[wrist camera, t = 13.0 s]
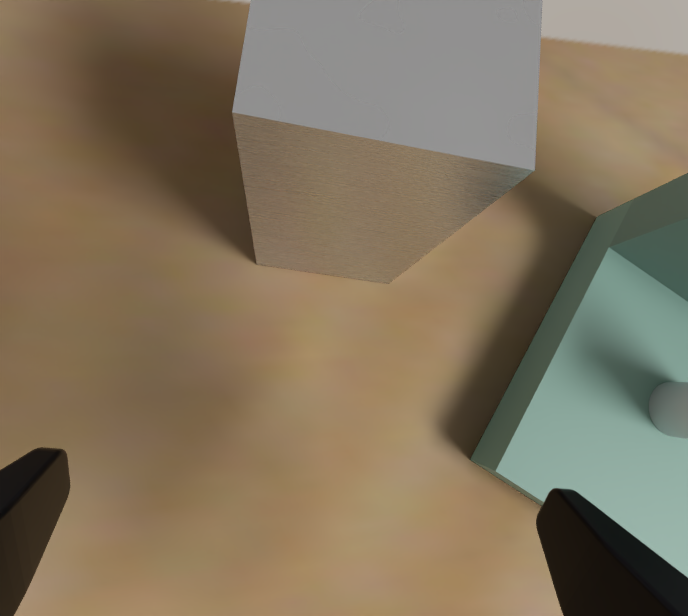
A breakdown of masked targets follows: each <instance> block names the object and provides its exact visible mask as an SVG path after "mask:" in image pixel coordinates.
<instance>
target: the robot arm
mask: <svg viewBox="0 0 688 616" xmlns="http://www.w3.org/2000/svg"><path fill="white" fill-rule="evenodd" d="M69 490H70V477H69V468H68V459H67V454H66V452H65V451H64V450H62V449H56V448H43V447H41V448H37V449H34V450H32V451H31V452H29V453H27V454H26V455H24V456H23V457H21V458H19V459H18V460H16V461H14V462H13V463H11V464H9V465H8V466H6V467H5V468H3V469H1V470H0V616H14V614H15V612H16V611H17V609H18V607H19V605H20V603H21V601H22V599H23V597H24V595H25V594H26V592H27V589H28V587H29V585H30V583H31V581H32V579H33V576H34V574H35V572H36V569H37V567H38V565H39V563H40V560H41V558H42V556H43V553H44V551H45V549H46V546H47V544H48V542H49V539H50V537H51V535H52V533H53V530H54V528H55V526H56V523H57V521H58V519H59V516H60V514H61V512H62V510H63V507H64V505H65V503H66V500H67V498H68V495H69ZM536 526H537V531H538V534H539V538H540V541H541V544H542V548H543V551H544V554H545V558H546V561H547V564H548V568H549V571H550V574H551V578H552V581H553V584H554V588H555V591H556V594H557V598H558V601H559V604H560V607H561V610H562V613H563V615H564V616H688V577H686V576H685V575H684V574H682V573H681V572H680V571H679V570H677V569H676V568H675V567H673V566H672V565H671V564H670V563H668V562H667V561H666V560H664V559H663V558H662V557H661V556H659V555H658V554H657V553H655V552H654V551H653V550H651V549H650V548H649V547H648V546H646V545H645V544H644V543H642V542H641V541H640V540H639V539H637V538H636V537H635V536H633V535H632V534H631V533H630V532H628V531H627V530H626V529H624V528H623V527H622V526H620V525H619V524H618V523H617V522H615V521H614V520H613V519H611V518H610V517H609V516H608V515H606V514H605V513H604V512H602V511H601V510H600V509H598V508H597V507H596V506H595V505H593V504H592V503H591V502H589V501H588V500H587V499H586V498H584V497H583V496H582V495H580V494H579V493H578V492H576V491H575V490H572V489H563V488H553V489H552V490H550V492H549V493H548V495H547V497H546V499H545V501H544V503H543V505H542V507H541V509H540V511H539V513H538V515H537V519H536Z"/></svg>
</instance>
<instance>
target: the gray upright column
mask: <svg viewBox="0 0 688 616" xmlns="http://www.w3.org/2000/svg"><path fill="white" fill-rule="evenodd" d="M541 19H542V0H251V3H250V9H249V15H248V21H247V27H246V33H245V39H244V45H243V50H242V56H241V62H240V68H239V74H238V80H237V86H236V92H235V98H234V104H233V110H232V115H233V121H234V127H235V133H236V140H237V146H238V152H239V158H240V164H241V170H242V177H243V183H244V189H245V195H246V201H247V207H248V213H249V220H250V226H251V232H252V238H253V244H254V250H255V257H256V263H257V265H264V266H271V267H278V268H284V269H291V270H298V271H305V272H312V273H318V274H325V275H332V276H339V277H346V278H352V279H359V280H366V281H373V282H380V283H386V284H389V283H390V282H392V281H393V280H394V279H395V278H397V277H398V276H399V275H401V274H402V273H403V272H405V271H406V270H407V269H408V268H410V267H411V266H412V265H414V264H415V263H416V262H417V261H419V260H420V259H421V258H423V257H424V256H425V255H426V254H428V253H429V252H430V251H432V250H433V249H434V248H435V247H437V246H438V245H439V244H441V243H442V242H443V241H445V240H446V239H447V238H448V237H450V236H451V235H452V234H454V233H455V232H456V231H457V230H459V229H460V228H461V227H463V226H464V225H465V224H466V223H468V222H469V221H470V220H472V219H473V218H474V217H475V216H477V215H478V214H479V213H481V212H482V211H483V210H484V209H486V208H487V207H488V206H490V205H491V204H492V203H494V202H495V201H496V200H497V199H499V198H500V197H501V196H503V195H504V194H505V193H506V192H508V191H509V190H510V189H512V188H513V187H514V186H515V185H517V184H518V183H519V182H521V181H522V180H523V179H524V178H526V177H527V176H528V175H530V174H531V173H532V172H533V171H535V155H536V132H537V110H538V87H539V65H540V42H541Z"/></svg>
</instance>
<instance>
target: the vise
mask: <svg viewBox="0 0 688 616" xmlns="http://www.w3.org/2000/svg"><path fill="white" fill-rule="evenodd" d="M470 460H471V461H473V462H474V463H476V464H477V465H479V466H480V467H482V468H484V469H485V470H487V471H488V472H490V473H491V474H493V475H494V476H496V477H498V478H499V479H501V480H502V481H504V482H505V483H507V484H508V485H510V486H511V487H513V488H515V489H516V490H518V491H519V492H521V493H522V494H524V495H525V496H527V497H528V498H530V499H532V500H533V501H535V502H536V503H538V504H539V505H541V506H542V505H543V503H544V501H545V499H546V497H547V495H548V493H549V492H550V490H552V489H553V488H563V489H572V490H575V491H576V492H578V493H579V494H580V495H582V496H583V497H584V498H586V499H587V500H588V501H589V502H591V503H592V504H593V505H595V506H596V507H597V508H598V509H600V510H601V511H602V512H604V513H605V514H606V515H608V516H609V517H610V518H611V519H613V520H614V521H615V522H617V523H618V524H619V525H620V526H622V527H623V528H624V529H626V530H627V531H628V532H630V533H631V534H632V535H633V536H635V537H636V538H637V539H639V540H640V541H641V542H642V543H644V544H645V545H646V546H648V547H649V548H650V549H651V550H653V551H654V552H655V553H657V554H658V555H659V556H661V557H662V558H663V559H664V560H666V561H667V562H668V563H670V564H671V565H672V566H673V567H675V568H676V569H677V570H679V571H680V572H681V573H682V574H684V575H685V576H686V577H688V173H687V174H685V175H683V176H680V177H678V178H676V179H674V180H672V181H670V182H668V183H666V184H664V185H662V186H660V187H658V188H656V189H654V190H651V191H649V192H647V193H645V194H643V195H641V196H639V197H637V198H635V199H633V200H631V201H629V202H627V203H624V204H622V205H620V206H618V207H616V208H614V209H612V210H610V211H608V212H606V213H604V214H602V215H600V216H598V217H597V218H596V220H595V222H594V224H593V225H592V227H591V229H590V231H589V233H588V235H587V237H586V239H585V241H584V243H583V245H582V247H581V248H580V250H579V252H578V254H577V256H576V258H575V260H574V262H573V264H572V266H571V268H570V269H569V271H568V273H567V275H566V277H565V279H564V281H563V283H562V285H561V287H560V289H559V291H558V292H557V294H556V296H555V298H554V300H553V302H552V304H551V306H550V308H549V310H548V312H547V313H546V315H545V317H544V319H543V321H542V323H541V325H540V327H539V329H538V331H537V333H536V334H535V336H534V338H533V340H532V342H531V344H530V346H529V348H528V350H527V352H526V354H525V356H524V357H523V359H522V361H521V363H520V365H519V367H518V369H517V371H516V373H515V375H514V377H513V378H512V380H511V382H510V384H509V386H508V388H507V390H506V392H505V394H504V396H503V398H502V400H501V401H500V403H499V405H498V407H497V409H496V411H495V413H494V415H493V417H492V419H491V421H490V422H489V424H488V426H487V428H486V430H485V432H484V434H483V436H482V438H481V440H480V442H479V443H478V445H477V447H476V449H475V451H474V453H473V455H472V457H471V459H470Z"/></svg>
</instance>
